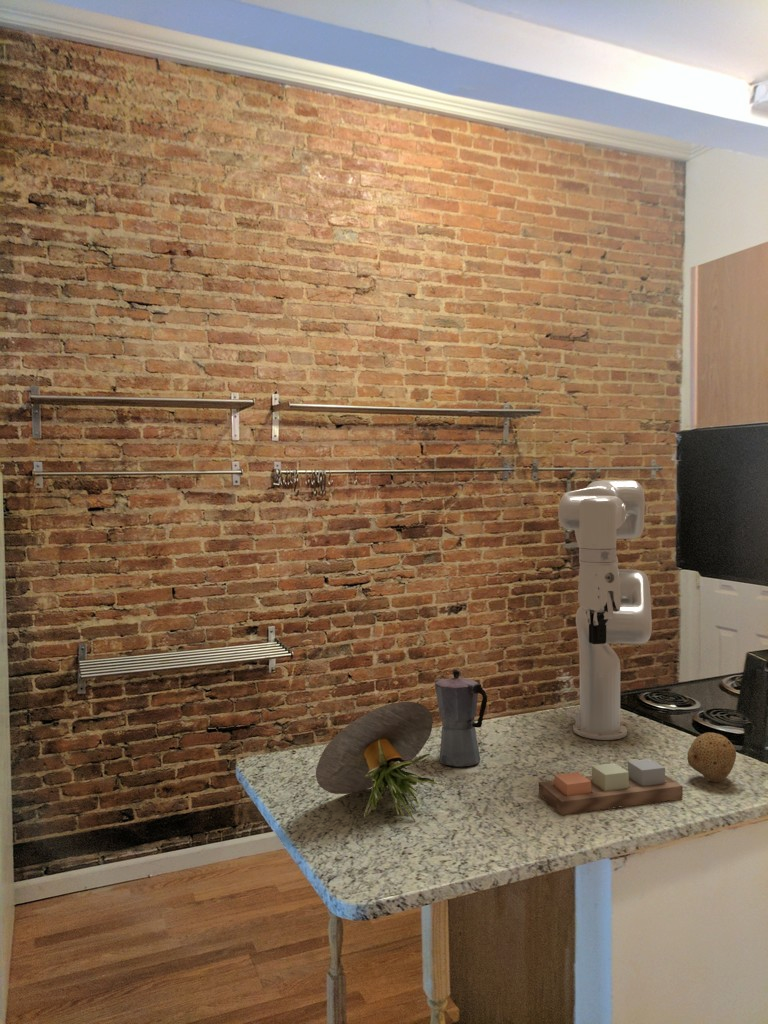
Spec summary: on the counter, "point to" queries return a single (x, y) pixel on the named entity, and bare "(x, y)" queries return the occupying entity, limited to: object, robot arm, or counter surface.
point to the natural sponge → (712, 756)
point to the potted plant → (378, 754)
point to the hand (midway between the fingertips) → (597, 643)
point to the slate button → (646, 772)
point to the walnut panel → (609, 796)
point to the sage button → (610, 777)
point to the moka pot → (459, 719)
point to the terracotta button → (572, 784)
